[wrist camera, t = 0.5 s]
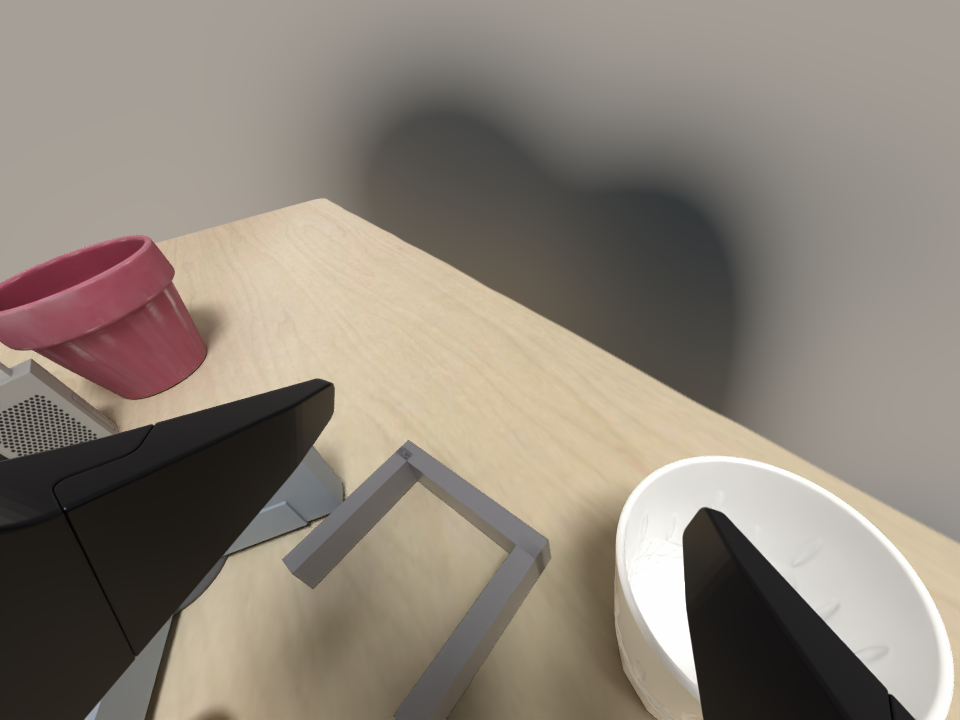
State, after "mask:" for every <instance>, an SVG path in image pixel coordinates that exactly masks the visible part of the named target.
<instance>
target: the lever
mask: <svg viewBox="0 0 960 720" xmlns="http://www.w3.org/2000/svg"><path fill="white" fill-rule="evenodd" d="M342 502H343V487H342V482H341V481H340V479H339V478H338V477H337V476H336V474H335V473H334V472H333V471H332V469H331V468H330V467H329V466H328V464H327V463H326V462H325V460H324V459H323V458H322V457H321V455H320V454H319V453H318V452H317V450H316V449H315V448H314V446H312V447H311V449H310V450H309V452H308V453H307V455H306V456H305V458H304V459H303V460H302V462H301V463H300V465H299V466H298V467H297V469H296V470H295V471H294V472H293V474H292V475H291V476H290V477H289V478H288V480H287V481H286V482H285V483H284V484H283V485H282V487H281V488H280V489H279V490H278V491H277V492H276V494H275V495H274V496H273V497H272V498H271V500H270V501H269V502H268V503H267V504H266V505H265V507H264V508H263V509H262V510H261V511H260V513H259V514H258V515H257V516H256V517H255V518H254V520H253V521H252V522H251V523H250V524H249V526H248V527H247V528H246V529H245V530H244V531H243V533H242V534H241V535H240V536H239V537H238V539H237V540H236V541H235V542H234V543H233V544H232V546H231V547H230V548H229V549H228V550H227V551H226V553H225V554H224V555H227V554H230V553H232V552H235V551H238V550H241V549H243V548H246V547H249V546H251V545H254V544H257V543H259V542H262V541H265V540H267V539H270V538H273V537H275V536H278V535H281V534H283V533H286V532H289V531H291V530H294V529H297V528H299V527H302V526H305V525H307V522H308V521H311V520H313V519H316V518H319V517H321V516H324V515H327V514H330V513H332V512H333V511H334V510H335V509H336V508H337V507H338V506H339V505H340V504H341V503H342ZM224 555H223V556H224ZM172 617H173V615H172V616H171V618H170V619H169V620H168V621H167V622H166V623H165V625H164V626H163V627H162V628H161V629H160V631H159V632H158V633H157V634H156V635H155V636H154V638H153V639H152V640H151V641H150V642H149V644H148V645H147V646H146V647H145V648H144V649H143V651H142V652H141V653H140V654H139V655H138V656H136V657H135V658H136V659H135V661H134V662H133V663H132V664H131V665H130V666H129V668H128V669H127V670H126V671H125V672H124V673H123V675H122V676H121V677H120V678H119V679H118V681H117V682H116V683H115V684H114V685H113V686H112V688H111V689H110V690H109V691H108V692H107V694H106V695H105V696H104V697H103V698H102V699H101V701H100V702H99V703H98V704H97V705H96V707H95V708H94V709H93V710H92V711H91V712H90V714H89V715H88V716H87V717H86V718H85V719H84V720H144V719H145V716H146V712H147V708H148V705H149V701H150V697H151V694H152V690H153V686H154V683H155V679H156V675H157V672H158V668H159V664H160V661H161V657H162V653H163V650H164V646H165V642H166V639H167V635H168V631H169V628H170V624H171V620H172Z"/></svg>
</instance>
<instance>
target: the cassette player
mask: <svg viewBox="0 0 960 720" xmlns="http://www.w3.org/2000/svg"><path fill="white" fill-rule="evenodd" d="M118 433H119V430H118V426H117V425H116V424H115V423H113V422H112V421H111V420H110V419H108V418H107V417H106V416H104V415H103V414H102V413H101V412H99V411H98V410H97V409H95V408H94V407H93V406H92V405H90V404H89V403H88V402H86V401H85V400H84V399H83V398H81V397H80V396H79V395H77V394H76V393H75V392H74V391H72V390H71V389H70V388H68V387H67V386H66V385H65V384H63V383H62V382H61V381H59V380H58V379H57V378H56V377H54V376H53V375H52V374H51V373H49V372H48V371H47V370H45V369H44V368H43V367H42V366H40V365H39V364H38V363H36V362H35V361H34V360H33V359H29V360H27V361H25V362H23V363H20V364H18V365H16V366H14V367H12V368H8V367H6V366H5V365H4V364H2V363H1V362H0V461H3V460H7V459H11V458H16V457H20V456H25V455H29V454H34V453H38V452H43V451H47V450H52V449H56V448H61V447H65V446H69V445H73V444H78V443H82V442H86V441H90V440H95V439H99V438H102V437H106V436H110V435H114V434H118Z"/></svg>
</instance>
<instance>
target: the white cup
mask: <svg viewBox="0 0 960 720" xmlns="http://www.w3.org/2000/svg"><path fill="white" fill-rule="evenodd" d="M702 507H708V508H711V509H714V510H717V511H720V512H722V513H724V514H725V515H726V516H727V517H728V518H729V519H730V520H731V521H732V522H733V523H734V525H735V526H736V527H737V528H738V529H739V530H740V531H741V532H742V533H743V534H744V535H745V536H746V537H747V539H748V540H749V541H750V542H751V543H752V544H753V545H754V546H755V547H756V548H757V549H758V550H759V551H760V553H761V554H762V555H763V556H764V557H765V558H766V559H767V560H768V561H769V562H770V563H771V564H772V565H773V567H774V568H775V569H776V570H777V571H778V572H779V573H780V574H781V575H782V576H783V577H784V578H785V579H786V581H787V582H788V583H789V584H790V585H791V586H792V587H793V588H794V589H795V590H796V591H797V592H798V593H799V595H800V596H801V597H802V598H803V599H804V600H805V601H806V602H807V603H808V604H809V605H810V606H811V607H812V609H813V610H814V611H815V612H816V613H817V614H818V615H819V616H820V617H821V618H822V619H823V620H824V621H825V623H826V624H827V625H828V626H829V627H830V628H831V629H832V630H833V631H834V632H835V633H836V634H837V635H838V637H839V638H840V639H841V640H842V641H843V642H844V643H845V644H846V645H847V646H848V647H849V648H850V649H851V651H852V652H853V653H854V654H855V655H856V656H857V657H858V658H859V659H860V660H861V661H862V662H863V663H864V665H865V666H866V667H867V668H868V669H869V670H870V671H871V672H872V673H873V674H874V675H875V676H876V677H877V678H878V680H879V681H880V682H881V683H882V684H883V685H884V686H885V687H886V688H887V690H888V693H889V694H892V695H893V696H894V697H895V698H896V699H897V700H898V701H899V702H900V703H901V704H902V705H903V706H904V707H905V709H906V710H907V711H908V712H909V713H910V714H911V715H912V716H913V717H914V718H915V719H916V720H945V718H946V716H947V714H948V711H949V708H950V705H951V701H952V696H953V689H954V665H953V657H952V651H951V647H950V643H949V639H948V635H947V632H946V629H945V626H944V624H943V621H942V618H941V616H940V614H939V611H938V609H937V607H936V605H935V603H934V601H933V599H932V597H931V596H930V594H929V592H928V590H927V589H926V587H925V585H924V584H923V582H922V581H921V579H920V578H919V576H918V575H917V573H916V572H915V571H914V569H913V568H912V566H911V565H910V564H909V563H908V561H907V560H906V559H905V557H904V556H903V555H902V554H901V553H900V552H899V550H898V549H897V548H896V547H895V546H894V545H893V544H892V543H891V542H890V541H889V540H888V538H887V537H886V536H885V535H884V534H883V533H882V532H880V531H879V530H878V529H877V528H876V527H875V526H874V525H873V524H872V523H871V522H870V521H868V520H867V519H866V518H865V517H864V516H862V515H861V514H860V513H859V512H857V511H856V510H855V509H854V508H852V507H851V506H850V505H848V504H847V503H845V502H844V501H842V500H841V499H840V498H838V497H837V496H835V495H833V494H832V493H830V492H829V491H827V490H825V489H824V488H822V487H820V486H818V485H816V484H815V483H813V482H811V481H809V480H807V479H805V478H803V477H801V476H798V475H796V474H794V473H792V472H789V471H787V470H784V469H781V468H779V467H776V466H773V465H769V464H766V463H763V462H759V461H755V460H750V459H745V458H739V457H731V456H698V457H691V458H686V459H682V460H678V461H675V462H672V463H670V464H667V465H665V466H663V467H661V468H659V469H657V470H656V471H654V472H653V473H651V474H650V475H648V476H647V477H646V478H645V479H644V480H642V481H641V482H640V483H639V484H638V486H637V487H636V488H635V489H634V490H633V492H632V493H631V494H630V496H629V498H628V499H627V501H626V503H625V505H624V507H623V510H622V512H621V515H620V518H619V522H618V527H617V533H616V553H615V579H614V614H615V626H616V636H617V641H618V646H619V651H620V656H621V661H622V666H623V671H624V672H625V674H626V676H627V678H628V679H629V681H630V683H631V684H632V686H633V688H634V689H635V691H636V693H637V694H638V696H639V698H640V699H641V701H642V703H643V705H644V706H645V708H646V710H647V711H648V712H649V713H650V714H652V715H653V716H654V717H655V718H656V719H657V720H703V715H702V709H701V703H700V696H699V690H698V683H697V677H696V671H695V664H694V658H693V652H692V645H691V639H690V632H689V626H688V620H687V612H686V603H685V586H684V565H683V544H682V537H683V532H684V530H685V528H686V527H687V525H688V524H689V522H690V521H691V520H692V518H693V517H694V516H695V514H696V513H697V512H698V510H699V509H700V508H702Z"/></svg>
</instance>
